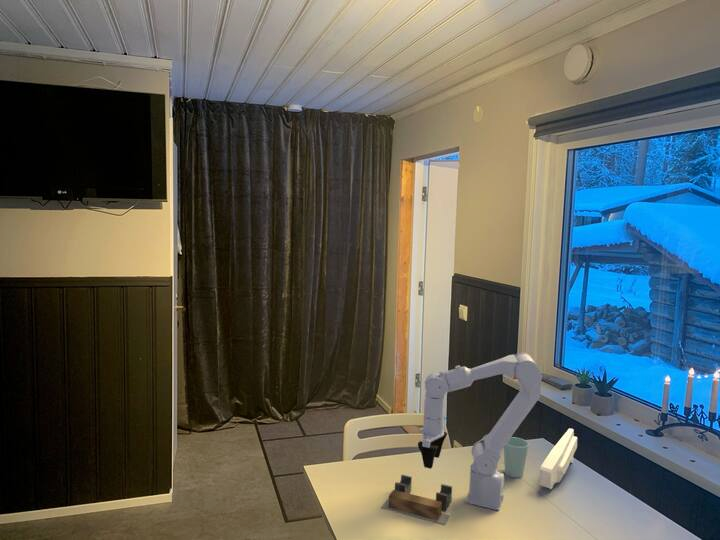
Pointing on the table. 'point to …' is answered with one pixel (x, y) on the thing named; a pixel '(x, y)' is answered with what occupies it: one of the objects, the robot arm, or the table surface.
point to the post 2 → (445, 496)
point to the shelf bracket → (558, 460)
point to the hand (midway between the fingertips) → (431, 462)
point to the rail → (415, 505)
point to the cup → (515, 456)
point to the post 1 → (404, 484)
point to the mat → (442, 519)
